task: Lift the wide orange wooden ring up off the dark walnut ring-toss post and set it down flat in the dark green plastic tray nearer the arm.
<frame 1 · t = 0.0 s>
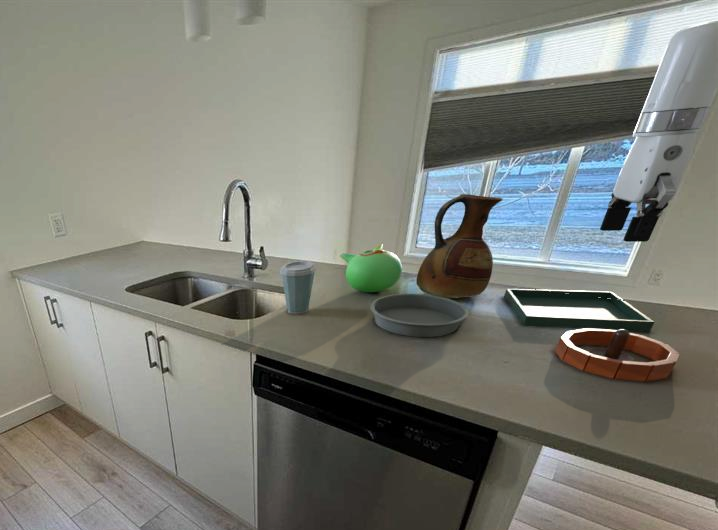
hand: (622, 235, 73), 28 cm above the worktop, tool pointing down, fingers open, 9 cm apart
tray: (567, 312, 112), on the worktop
ring: (609, 360, 89), on the worktop
cake pan: (414, 323, 115), on the worktop
ceramic pitcher: (448, 295, 131), on the worktop
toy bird: (369, 290, 141), on the worktop
disposable coffee cup: (296, 311, 130), on the worktop
post: (609, 360, 89), on the worktop
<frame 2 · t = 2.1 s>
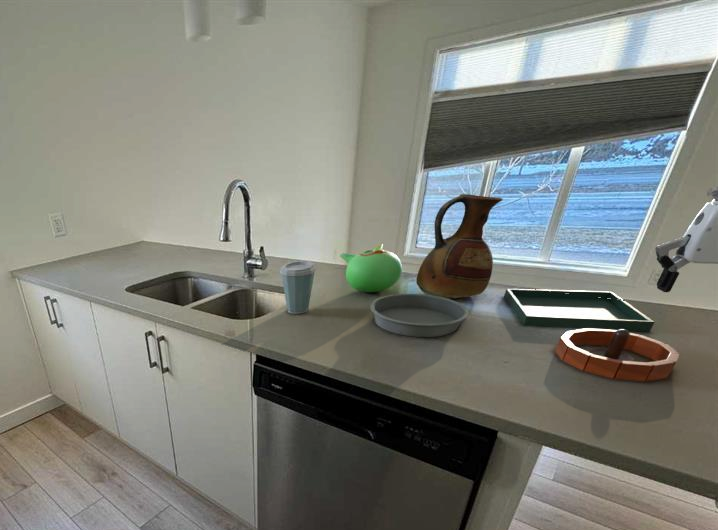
hand: (695, 291, 78), 16 cm above the worktop, tool pointing down, fingers open, 9 cm apart
nothing on the worktop moved.
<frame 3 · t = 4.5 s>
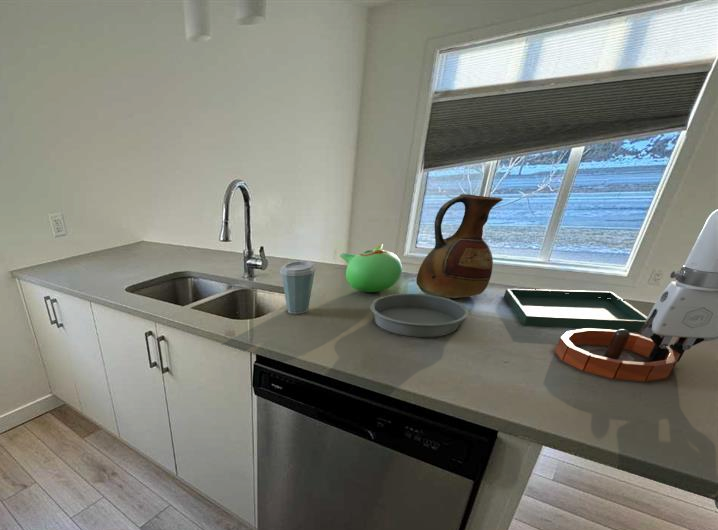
hand: (661, 363, 86), 0 cm above the worktop, tool pointing down, fingers closed on ring
ring: (609, 360, 89), on the worktop, touching gripper
everything else where it was.
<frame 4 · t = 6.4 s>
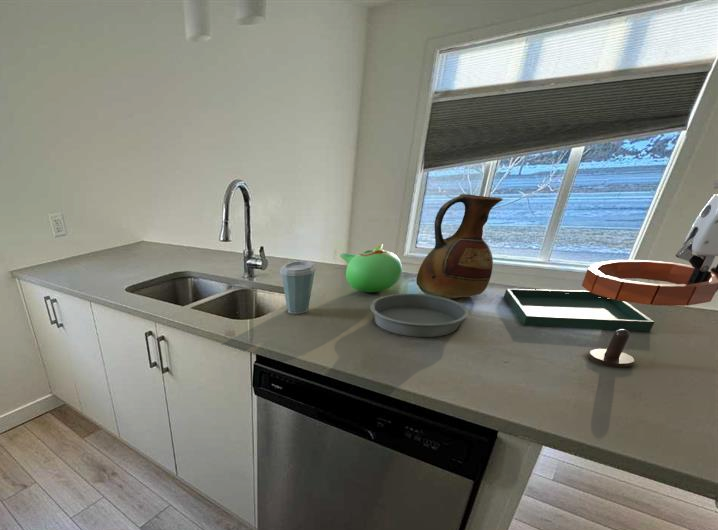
hand: (701, 289, 78), 16 cm above the worktop, tool pointing down, fingers closed on ring
ring: (643, 289, 81), point 16 cm above the worktop, touching gripper
everything else where it was.
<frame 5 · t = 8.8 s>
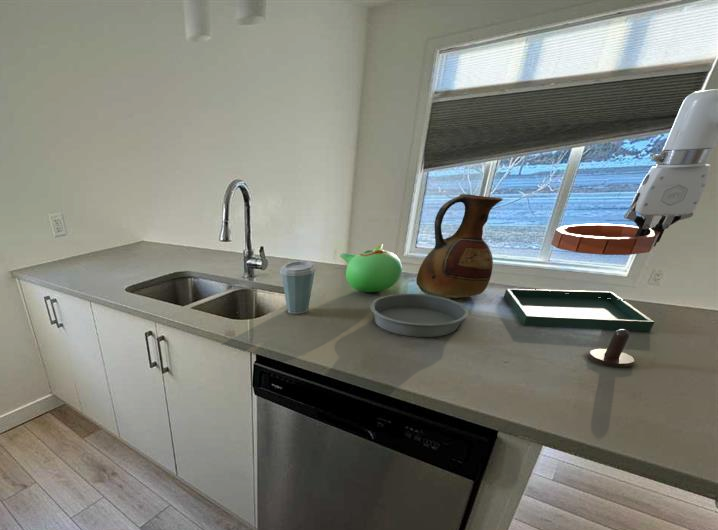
hand: (644, 245, 97), 19 cm above the worktop, tool pointing down, fingers closed on ring
ring: (599, 245, 100), point 19 cm above the worktop, touching gripper
everything else where it was.
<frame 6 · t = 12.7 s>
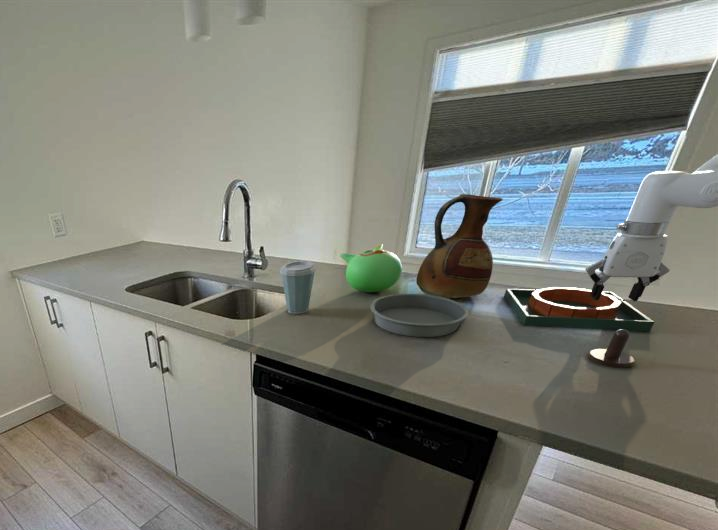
hand: (613, 298, 107), 4 cm above the worktop, tool pointing down, fingers open, 7 cm apart
ring: (569, 310, 112), point 1 cm above the worktop, touching tray
everything else where it was.
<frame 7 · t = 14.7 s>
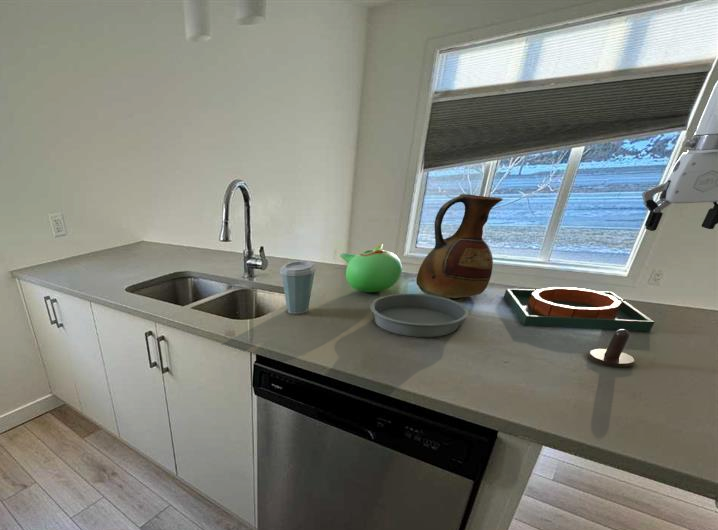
hand: (678, 228, 93), 23 cm above the worktop, tool pointing down, fingers open, 9 cm apart
nothing on the worktop moved.
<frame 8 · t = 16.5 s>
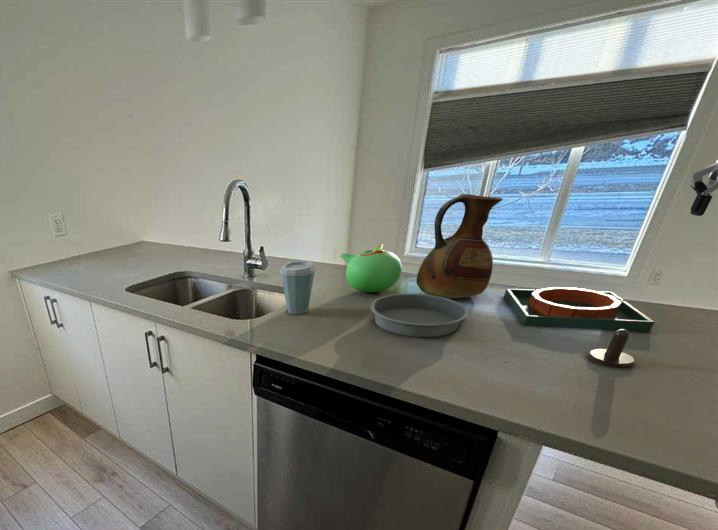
nothing on the worktop moved.
at the end: ring touching tray; ring inside the target area in the tray (0.3 cm from its centre), point 0.6 cm above the tray's base; ring tilted 0° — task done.
